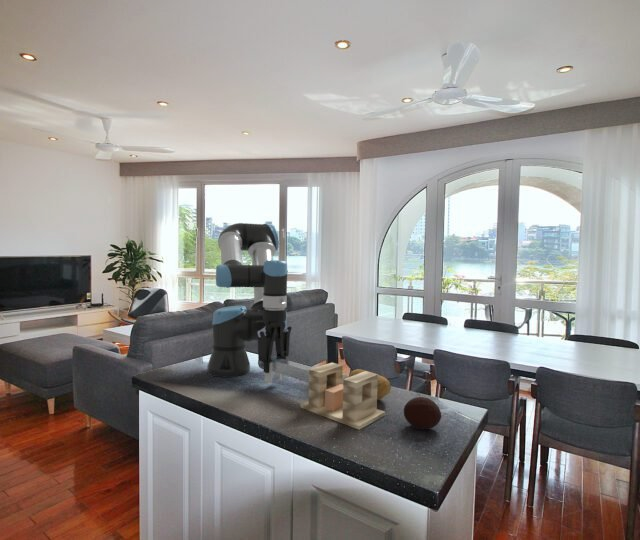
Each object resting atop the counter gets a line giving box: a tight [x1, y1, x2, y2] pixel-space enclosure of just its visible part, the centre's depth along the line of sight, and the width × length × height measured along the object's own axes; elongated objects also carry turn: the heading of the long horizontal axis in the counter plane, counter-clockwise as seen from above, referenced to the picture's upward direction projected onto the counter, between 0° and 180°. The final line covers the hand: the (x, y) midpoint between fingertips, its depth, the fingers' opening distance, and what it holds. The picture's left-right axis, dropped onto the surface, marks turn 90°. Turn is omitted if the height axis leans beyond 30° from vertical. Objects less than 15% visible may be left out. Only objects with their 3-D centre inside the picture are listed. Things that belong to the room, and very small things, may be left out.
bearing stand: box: [300, 362, 386, 430], centre depth 107 cm, size 20×12×11 cm, turn 49°
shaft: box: [257, 355, 329, 384], centre depth 120 cm, size 26×5×5 cm, turn 49°
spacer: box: [325, 383, 343, 411], centre depth 108 cm, size 5×7×3 cm
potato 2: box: [403, 396, 442, 431], centre depth 98 cm, size 8×9×8 cm
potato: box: [348, 368, 392, 401], centre depth 117 cm, size 10×14×8 cm
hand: (273, 380), depth 126 cm, fingers closed on shaft, 3 cm apart
